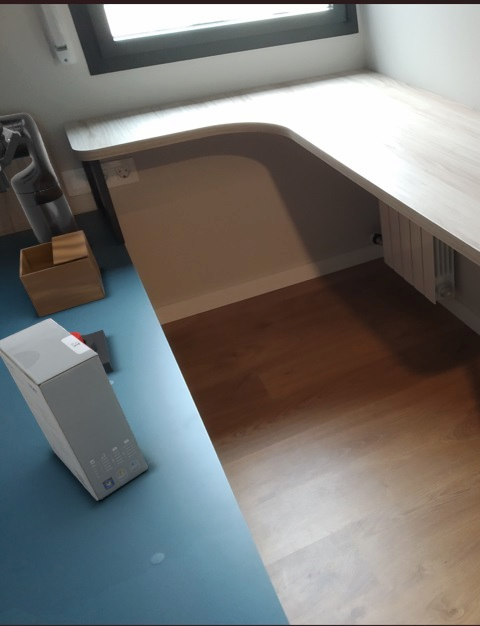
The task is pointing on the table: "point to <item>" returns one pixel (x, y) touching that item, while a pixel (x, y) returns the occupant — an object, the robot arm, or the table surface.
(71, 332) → the button
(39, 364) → the hard drive box
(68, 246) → the flap
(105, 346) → the button block
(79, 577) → the table surface
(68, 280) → the carton
